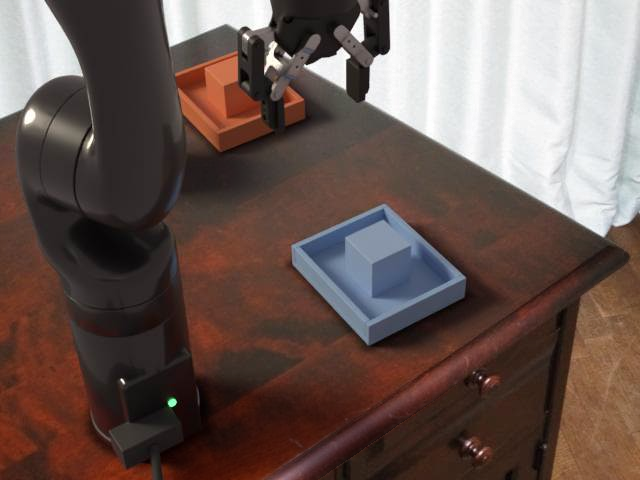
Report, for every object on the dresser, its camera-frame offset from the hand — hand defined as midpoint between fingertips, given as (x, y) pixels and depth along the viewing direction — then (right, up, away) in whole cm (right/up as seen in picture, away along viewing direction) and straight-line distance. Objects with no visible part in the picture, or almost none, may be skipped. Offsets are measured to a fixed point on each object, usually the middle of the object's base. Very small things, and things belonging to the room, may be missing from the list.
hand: (316, 112), depth 104 cm
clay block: (-10, +4, +29) cm, 31 cm away
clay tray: (-10, +4, +30) cm, 32 cm away
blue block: (+6, -15, +8) cm, 18 cm away
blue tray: (+6, -15, +8) cm, 18 cm away
